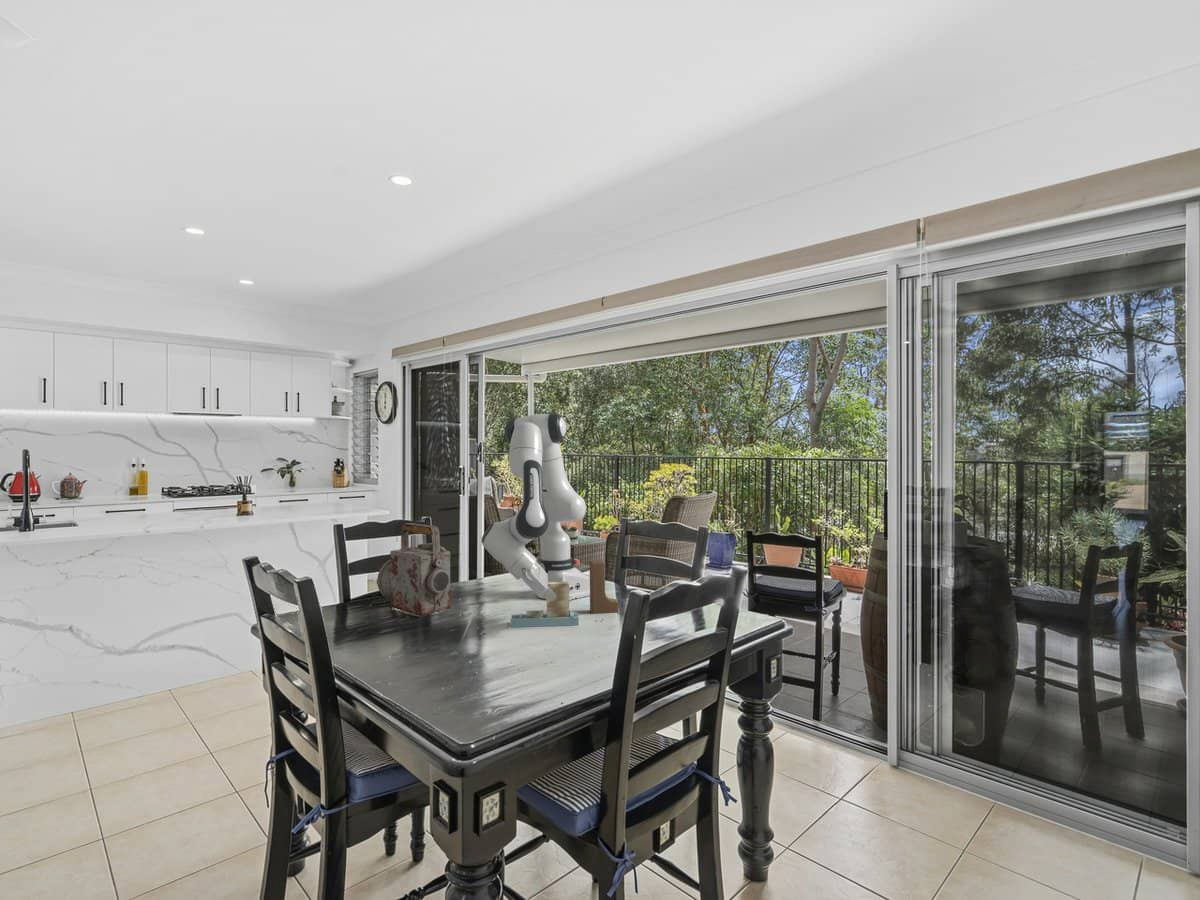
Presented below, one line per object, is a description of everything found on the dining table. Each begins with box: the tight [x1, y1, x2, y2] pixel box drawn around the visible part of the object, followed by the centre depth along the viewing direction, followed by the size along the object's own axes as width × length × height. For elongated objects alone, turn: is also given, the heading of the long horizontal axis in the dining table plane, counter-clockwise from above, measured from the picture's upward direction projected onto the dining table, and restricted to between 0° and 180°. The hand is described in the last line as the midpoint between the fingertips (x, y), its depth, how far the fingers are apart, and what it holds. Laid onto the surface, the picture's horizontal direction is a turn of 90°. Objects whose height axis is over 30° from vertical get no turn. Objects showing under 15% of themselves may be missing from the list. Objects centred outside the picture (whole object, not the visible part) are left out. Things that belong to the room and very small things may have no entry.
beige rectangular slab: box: [546, 582, 570, 618], centre depth 200 cm, size 7×2×11 cm, turn 94°
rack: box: [508, 610, 581, 630], centre depth 200 cm, size 22×9×4 cm, turn 94°
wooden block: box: [589, 559, 619, 615], centre depth 214 cm, size 9×4×18 cm, turn 101°
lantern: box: [376, 522, 452, 616], centre depth 222 cm, size 16×27×30 cm, turn 51°
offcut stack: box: [524, 610, 544, 618], centre depth 200 cm, size 6×2×4 cm, turn 94°
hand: (555, 596), depth 200 cm, fingers closed on beige rectangular slab, 2 cm apart
